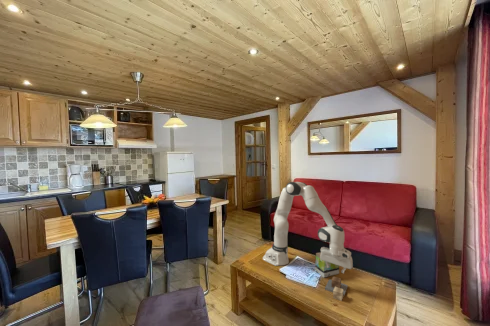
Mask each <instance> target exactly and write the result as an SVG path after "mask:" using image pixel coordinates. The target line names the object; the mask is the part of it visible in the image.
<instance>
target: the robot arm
mask: <svg viewBox="0 0 490 326" xmlns="http://www.w3.org/2000/svg"><path fill="white" fill-rule="evenodd" d="M296 196H297V197H298V196H302V198H303V200H304V204H305V206H306V208H307V209H308V210H309V211H311V212H312V213H313V212H314V213H317V214H319V215H320V216H321V217H322V218H323V221H325V222H324V223H325V224H326V226H324V227H319V228H318V230H317V237H318V239H319V240H320V241H322V242H325V243H329V247H325V246H321V248H320V252H321V255H320V259H321V260H323V261H325V263H326V265H327V268H330V265H328V262H329V263H332V264H335V265H338V266H339V267H342V269H341V273H342V274H345V271H346V270H347V269H349V270H352V269H353V266H354V264H353V262H354V261H353V257H352V252H351V251H350V250H349V249H346V248H345V245H344V243H345V230H344V228H343V227H342V226H339V225H338V224H337V223H336V221H335V219H334V218H333V216H332V215H331V212H330V211H329V209H328V208H327V206H326V205H324V203H323V201H322V200H321V199H320V197H319V195H318V192H317V191H316V189H315V187H314V186H313V185H307V184H306V183H305V182H300V181H290V182H288V183H287V184H286V185H285V187H282V190H281V192H280V195H279V197H278V198H279V199H278V204H277V207H276V210H275V212H274V216H273V223H274V232H273V233H274V235H273V243H272V244H271V247H270V248H269V249H267V250H266V251H265V254H264V255H263V256H262V260H263V261H264V262H266V263H269V264H270V265H273V266H275V267H277V266H286V265H288V264H289V263H290V259H289V253H288V252H289V245H288V233H289V225H290V224H289V221H288V217H289V214H290V212H291V209H292V206H293V200H294V197H296Z"/></svg>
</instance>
